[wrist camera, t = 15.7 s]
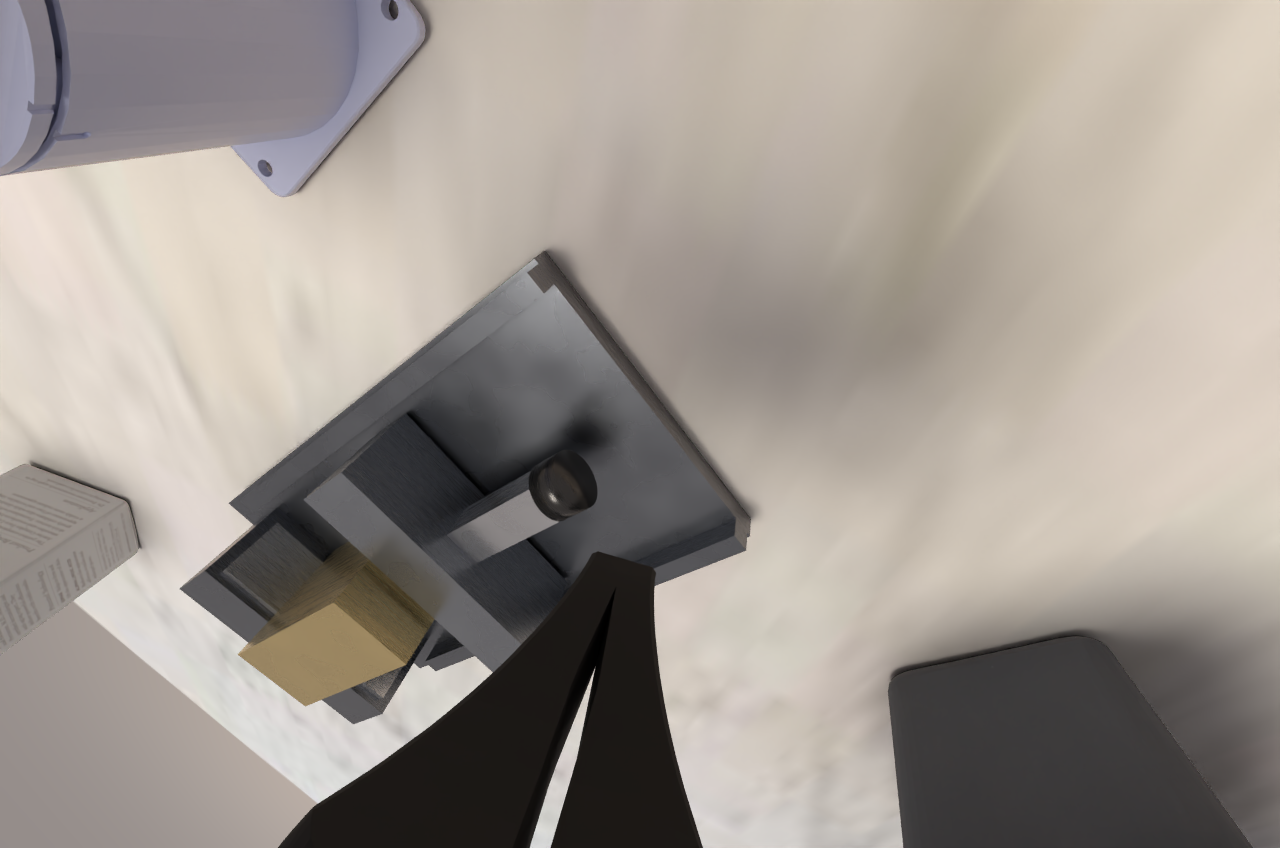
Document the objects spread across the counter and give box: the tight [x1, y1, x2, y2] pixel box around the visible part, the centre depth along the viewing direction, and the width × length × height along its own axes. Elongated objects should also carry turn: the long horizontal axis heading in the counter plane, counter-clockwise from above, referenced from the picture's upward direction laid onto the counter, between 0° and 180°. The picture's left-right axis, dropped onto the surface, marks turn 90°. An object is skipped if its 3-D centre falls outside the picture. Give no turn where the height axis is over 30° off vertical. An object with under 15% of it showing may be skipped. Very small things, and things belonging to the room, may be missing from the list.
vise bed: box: [180, 251, 751, 724], centre depth 24 cm, size 13×21×5 cm, turn 127°
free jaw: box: [304, 414, 598, 672], centre depth 22 cm, size 10×8×4 cm
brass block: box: [238, 542, 434, 706], centre depth 25 cm, size 4×7×6 cm, turn 127°
